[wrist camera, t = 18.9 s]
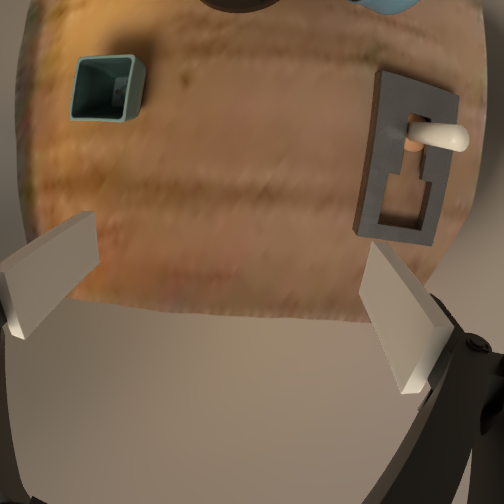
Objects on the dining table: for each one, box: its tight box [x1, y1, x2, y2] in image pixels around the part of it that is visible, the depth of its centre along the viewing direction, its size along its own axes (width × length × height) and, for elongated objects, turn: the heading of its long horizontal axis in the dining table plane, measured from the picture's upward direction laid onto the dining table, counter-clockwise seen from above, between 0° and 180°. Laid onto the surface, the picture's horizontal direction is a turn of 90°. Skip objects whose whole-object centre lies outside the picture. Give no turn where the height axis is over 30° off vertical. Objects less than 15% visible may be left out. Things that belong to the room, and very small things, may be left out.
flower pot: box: [69, 54, 146, 122], centre depth 35 cm, size 9×9×9 cm
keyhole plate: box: [353, 70, 459, 246], centre depth 40 cm, size 24×13×3 cm, turn 174°
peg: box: [404, 113, 469, 152], centre depth 33 cm, size 6×6×14 cm
